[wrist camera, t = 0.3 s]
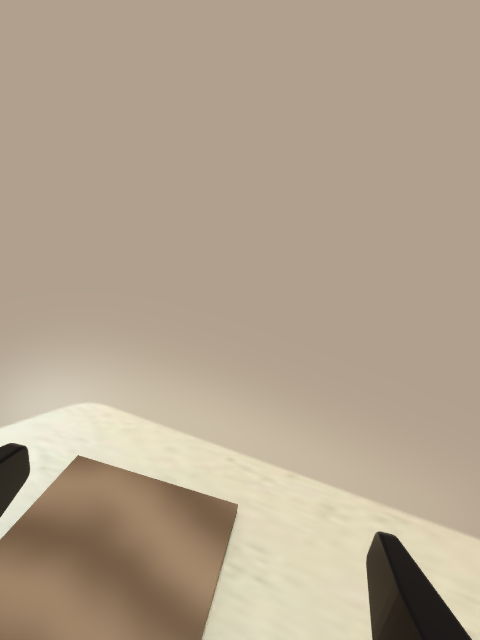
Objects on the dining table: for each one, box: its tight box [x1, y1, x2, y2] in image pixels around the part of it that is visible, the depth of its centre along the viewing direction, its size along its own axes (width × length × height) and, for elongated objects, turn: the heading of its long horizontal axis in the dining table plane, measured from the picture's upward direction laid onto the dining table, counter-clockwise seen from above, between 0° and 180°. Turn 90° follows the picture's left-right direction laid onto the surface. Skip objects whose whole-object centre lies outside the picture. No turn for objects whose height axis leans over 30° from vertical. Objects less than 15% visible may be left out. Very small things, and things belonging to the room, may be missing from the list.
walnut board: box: [0, 455, 238, 640], centre depth 20 cm, size 14×14×1 cm
